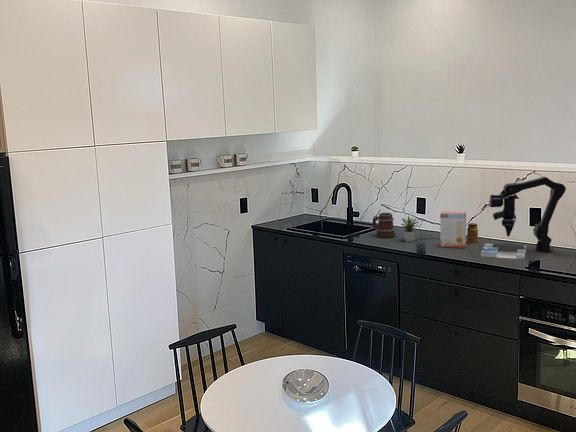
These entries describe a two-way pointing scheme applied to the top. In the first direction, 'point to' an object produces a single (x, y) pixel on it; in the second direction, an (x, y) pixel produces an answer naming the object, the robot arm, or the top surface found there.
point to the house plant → (409, 229)
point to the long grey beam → (508, 246)
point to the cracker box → (453, 229)
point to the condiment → (472, 233)
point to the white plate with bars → (502, 252)
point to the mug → (384, 225)
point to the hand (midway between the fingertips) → (508, 234)
